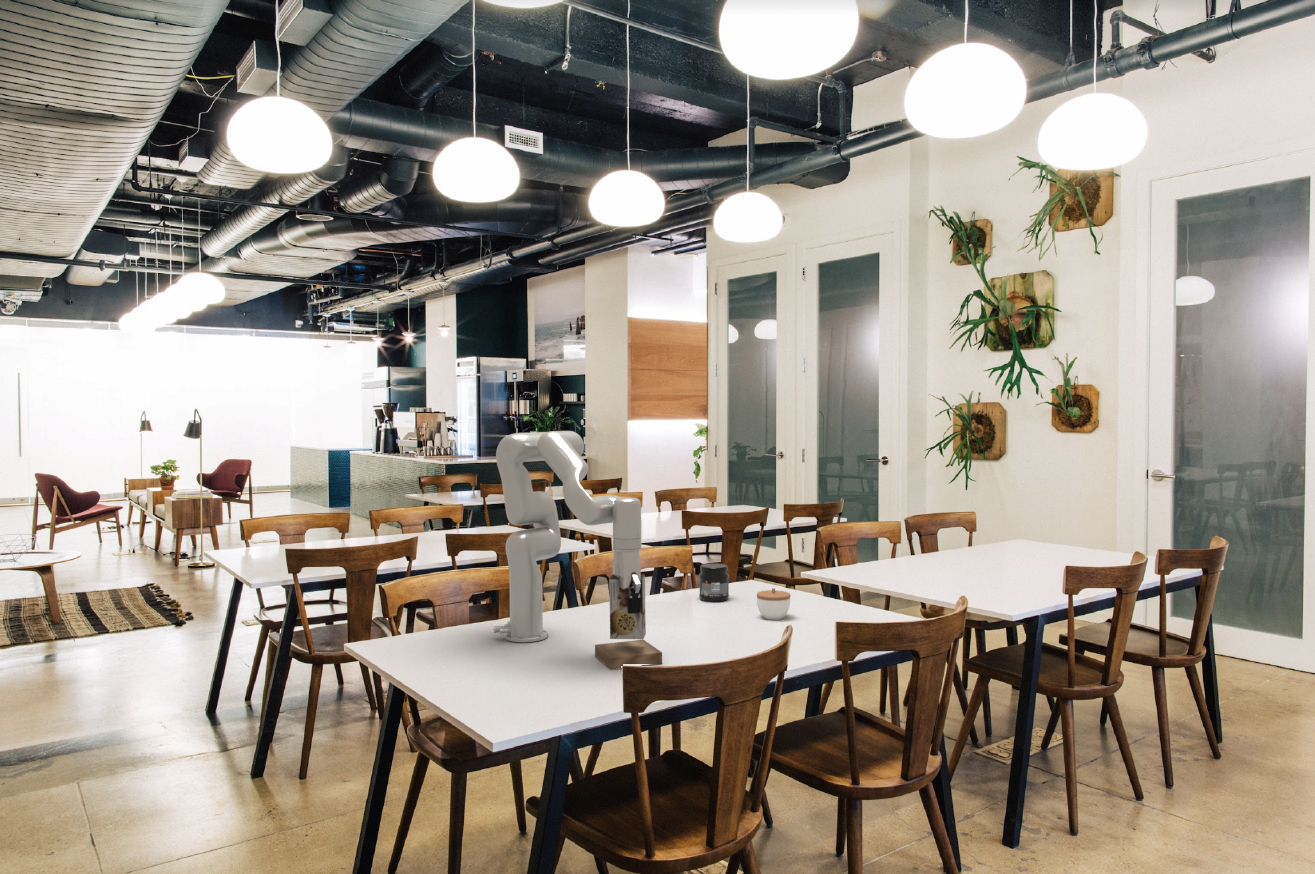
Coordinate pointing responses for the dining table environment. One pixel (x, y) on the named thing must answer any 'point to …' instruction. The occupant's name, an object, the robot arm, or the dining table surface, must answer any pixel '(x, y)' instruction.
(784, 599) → the lidded jar
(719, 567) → the supplement container
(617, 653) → the block
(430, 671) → the dining table surface
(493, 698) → the dining table surface
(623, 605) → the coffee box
